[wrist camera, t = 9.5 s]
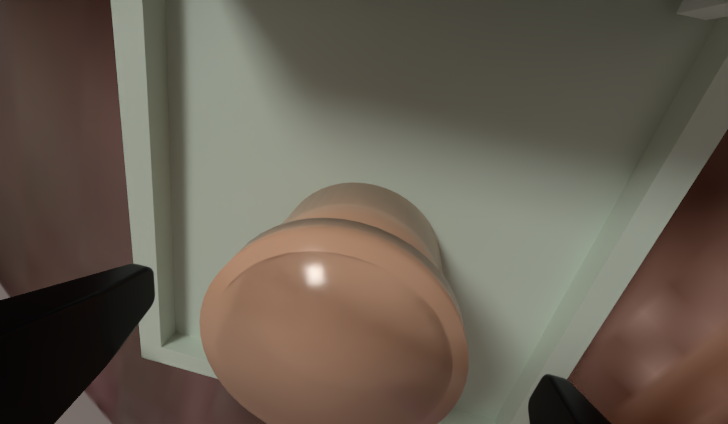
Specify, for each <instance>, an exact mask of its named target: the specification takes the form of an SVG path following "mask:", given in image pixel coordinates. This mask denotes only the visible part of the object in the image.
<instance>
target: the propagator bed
mask: <svg viewBox="0 0 728 424" xmlns="http://www.w3.org/2000/svg"><path fill="white" fill-rule="evenodd" d="M682 1H683V0H111V10H112V22H113V33H114V45H115V56H116V68H117V79H118V90H119V102H120V113H121V125H122V136H123V148H124V159H125V171H126V182H127V193H128V205H129V216H130V228H131V239H132V251H133V262H134V264H140V265H143V266H147V267H150V268H152V270H153V272H154V284H155V299H154V302H153V304H152V306H151V308H150V309H149V310H148V312H147V313H146V314H145V316H144V317H143V318H142V320H141V321H140V322H139V331H140V342H141V354H142V358H146V359H149V360H153V361H157V362H160V363H164V364H167V365H171V366H174V367H178V368H181V369H185V370H189V371H192V372H196V373H199V374H203V375H206V376H210V377H213V378H217V376H216V375H215V373H214V372H213V370H212V368H211V366H210V364H209V362H208V360H207V357H206V355H205V352H204V349H203V345H202V341H201V336H200V323H199V322H200V311H201V306H202V303H203V299H204V296H205V294H206V292H207V289H208V287H209V285H210V284H211V282H212V281H213V279H214V278H215V277H216V275H217V274H218V272H219V271H220V270H221V269H222V268H223V267H224V266H225V265H226V264H227V263H228V262H229V261H230V260H231V259H232V258H233V257H234V256H235V255H236V254H237V253H238V252H239V251H240V250H241V249H242V248H243V247H244V246H245V245H246V244H247V243H248V242H249V241H251V240H252V239H254V238H255V237H256V236H258V235H259V234H261V233H263V232H265V231H267V230H269V229H271V228H273V227H275V226H278V225H281V224H282V223H283V222H284V221H285V219H286V218H287V217H288V216H289V215H290V214H291V212H292V211H293V210H294V209H295V208H296V207H297V206H298V205H299V204H300V203H301V202H302V201H303V200H304V199H305V198H307V197H308V196H310V195H311V194H312V193H314V192H316V191H318V190H320V189H323V188H325V187H328V186H331V185H336V184H341V183H352V182H354V183H367V184H372V185H377V186H380V187H383V188H387V189H389V190H391V191H393V192H395V193H398V194H399V195H401V196H402V197H404V198H406V199H407V200H409V201H410V202H411V203H412V204H413V205H415V206H416V207H417V208H418V209H419V210H420V211H421V212H422V213H423V215H424V216H425V217H426V219H427V220H428V221H429V223H430V225H431V227H432V228H433V230H434V232H435V235H436V238H437V241H438V245H439V250H440V257H441V265H442V273H443V276H444V277H445V279H446V280H447V281H448V283H449V285H450V287H451V288H452V290H453V292H454V294H455V296H456V298H457V301H458V304H459V307H460V309H461V314H462V319H463V325H464V330H465V336H466V342H467V347H468V353H469V369H468V375H467V381H466V384H465V387H464V389H463V392H462V395H461V396H460V398H459V400H458V401H457V403H456V405H455V406H454V408H453V409H452V410H451V411H450V412H449V414H448V415H447V416H446V417H445V418H444V419H443V420H441V421H440V422H439V423H438V424H530V421H529V414H528V402H529V399H530V396H531V395H532V393H533V391H534V390H535V388H536V386H537V385H538V383H539V381H540V380H541V378H542V377H543V376H544V375H545V374H551V375H555V376H559V377H562V378H565V379H567V378H568V377H569V375H570V374H571V372H572V371H573V369H574V367H575V366H576V364H577V363H578V361H579V360H580V358H581V357H582V355H583V353H584V352H585V350H586V349H587V347H588V346H589V344H590V343H591V341H592V339H593V338H594V336H595V335H596V333H597V332H598V330H599V329H600V327H601V325H602V324H603V322H604V321H605V319H606V318H607V316H608V315H609V313H610V311H611V310H612V308H613V307H614V305H615V304H616V302H617V301H618V299H619V297H620V296H621V294H622V293H623V291H624V290H625V288H626V287H627V285H628V283H629V282H630V280H631V279H632V277H633V276H634V274H635V273H636V271H637V269H638V268H639V266H640V265H641V263H642V262H643V260H644V259H645V257H646V255H647V254H648V252H649V251H650V249H651V248H652V246H653V245H654V243H655V241H656V240H657V238H658V237H659V235H660V234H661V232H662V231H663V229H664V227H665V226H666V224H667V223H668V221H669V220H670V218H671V217H672V215H673V213H674V212H675V210H676V209H677V207H678V206H679V204H680V203H681V201H682V199H683V198H684V196H685V195H686V193H687V192H688V190H689V189H690V187H691V185H692V184H693V182H694V181H695V179H696V178H697V176H698V175H699V173H700V171H701V170H702V168H703V167H704V165H705V164H706V162H707V161H708V159H709V157H710V156H711V154H712V153H713V151H714V150H715V148H716V147H717V145H718V143H719V142H720V140H721V139H722V137H723V136H724V134H725V133H726V131H727V129H728V17H722V18H716V19H709V20H703V19H699V18H694V17H689V16H684V15H680V14H676V13H677V11H678V9H679V7H680V5H681V3H682ZM217 379H218V378H217Z"/></svg>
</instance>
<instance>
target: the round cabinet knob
mask: <svg viewBox="0 0 728 424" xmlns="http://www.w3.org/2000/svg"><path fill="white" fill-rule="evenodd" d="M199 323H200V336H201V341H202V345H203V349H204V352H205V355H206V357H207V360H208V362H209V364H210V366H211V368H212V370H213V372H214V373H215V375H216V376H217V378H218V379H219V381H220V382H221V384H222V385H223V386H224V387H225V389H226V390H227V391H228V392H229V393H230V394H231V395H232V397H233V398H235V399H236V400H237V401H238V402H239V403H240V404H241V405H242V406H243V407H244V408H246V409H247V410H248V411H249V412H251V413H252V414H253V415H255V416H256V417H258V418H259V419H261V420H262V421H264V422H265V423H267V424H438V423H439V422H440V421H441V420H443V419H444V418H445V417H446V416H447V415H448V414H449V412H450V411H451V410H452V409H453V408H454V406H455V405H456V403H457V401H458V400H459V398H460V396H461V395H462V392H463V389H464V387H465V384H466V381H467V375H468V369H469V353H468V347H467V342H466V336H465V330H464V325H463V319H462V314H461V309H460V307H459V304H458V301H457V298H456V296H455V294H454V292H453V290H452V288H451V287H450V285H449V283H448V281H447V280H446V279H445V277H444V276H443V273H442V265H441V257H440V250H439V245H438V241H437V238H436V235H435V232H434V230H433V228H432V227H431V225H430V223H429V221H428V220H427V219H426V217H425V216H424V215H423V213H422V212H421V211H420V210H419V209H418V208H417V207H416V206H415V205H413V204H412V203H411V202H410V201H409V200H407V199H406V198H404V197H402V196H401V195H399V194H398V193H395V192H393V191H391V190H389V189H387V188H383V187H380V186H377V185H372V184H367V183H354V182H352V183H341V184H336V185H331V186H328V187H325V188H323V189H320V190H318V191H316V192H314V193H312V194H311V195H310V196H308V197H307V198H305V199H304V200H303V201H302V202H301V203H300V204H299V205H298V206H297V207H296V208H295V209H294V210H293V211H292V212H291V214H290V215H289V216H288V217H287V218H286V219H285V221H284V222H283V223H282V224H281V225H278V226H275V227H273V228H271V229H269V230H267V231H265V232H263V233H261V234H259V235H258V236H256V237H255V238H254V239H252V240H251V241H249V242H248V243H247V244H246V245H245V246H244V247H243V248H242V249H241V250H240V251H239V252H238V253H237V254H236V255H235V256H234V257H233V258H232V259H231V260H230V261H229V262H228V263H227V264H226V265H225V266H224V267H223V268H222V269H221V270H220V271H219V272H218V274H217V275H216V277H215V278H214V279H213V281H212V282H211V284H210V285H209V287H208V289H207V292H206V294H205V296H204V299H203V303H202V306H201V311H200V322H199Z"/></svg>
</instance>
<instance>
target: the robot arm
mask: <svg viewBox="0 0 728 424" xmlns="http://www.w3.org/2000/svg"><path fill="white" fill-rule="evenodd" d="M154 299H155V284H154V272H153V270H152V268H150V267H147V266H143V265H140V264H129V265H125V266H121V267H118V268H114V269H111V270H107V271H104V272H100V273H96V274H93V275H89V276H86V277H82V278H78V279H75V280H71V281H68V282H64V283H61V284H57V285H53V286H50V287H46V288H43V289H39V290H35V291H32V292H28V293H25V294H21V295H18V296H14V297H10V298H7V299H3V300H0V424H54V423H55V422H56V421H57V420H58V419H59V418H60V417H61V415H62V414H63V413H64V412H65V411H66V410H67V409H68V408H69V407H70V406H71V405H72V403H73V402H74V401H75V400H76V399H77V398H78V396H80V395H81V393H82V392H83V391H84V390H85V389H86V388H87V387H88V386H89V385H90V384H91V382H92V381H93V380H94V379H95V378H96V377H97V376H98V375H99V374H100V372H101V371H102V370H103V369H104V368H105V367H106V365H107V364H108V363H109V362H110V360H111V359H112V358H113V357H114V355H115V354H116V353H117V352H118V350H119V349H120V348H121V346H122V345H123V344H124V342H125V341H126V340H127V338H128V337H129V336H130V334H131V333H132V332H133V330H134V329H135V328H136V326H137V325H138V324H139V322H140V321H141V320H142V318H143V317H144V316H145V314H146V313H147V312H148V310H149V309H150V308H151V306H152V304H153V302H154ZM528 414H529V421H530V424H611V423H610V422H609V421H608V420H607V419H606V418H605V417H604V416H603V415H602V414H601V413H600V412H599V411H598V410H597V409H596V408H595V407H594V406H593V405H592V404H591V403H590V402H589V401H588V400H587V399H586V398H585V397H584V396H583V395H582V394H581V393H580V392H579V391H578V390H577V389H576V388H575V387H574V386H573V385H572V384H571V383H570V382H569V381H568V380H567V379H565V378H562V377H559V376H555V375H551V374H545V375H544V376H543V377H542V378H541V380H540V381H539V383H538V385H537V386H536V388H535V390H534V391H533V393H532V395H531V396H530V399H529V402H528Z"/></svg>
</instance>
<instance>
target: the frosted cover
mask: <svg viewBox="0 0 728 424" xmlns="http://www.w3.org/2000/svg"><path fill="white" fill-rule="evenodd" d="M676 14H680V15H684V16H689V17H694V18H699V19H703V20H709V19H716V18H722V17H728V0H683V1H682V3H681V5H680V7H679V9H678V11H677V13H676Z"/></svg>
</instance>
